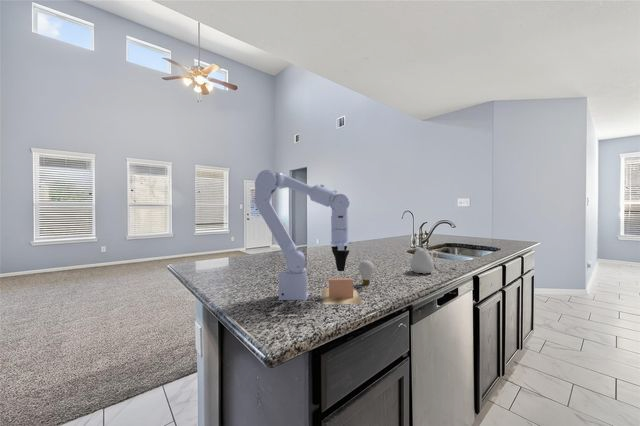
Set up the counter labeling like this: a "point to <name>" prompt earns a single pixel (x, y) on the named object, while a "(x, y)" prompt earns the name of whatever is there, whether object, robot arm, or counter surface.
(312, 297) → the counter surface
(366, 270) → the light bulb
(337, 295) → the tile
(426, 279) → the counter surface
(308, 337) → the counter surface
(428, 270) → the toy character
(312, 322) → the counter surface
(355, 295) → the mat
